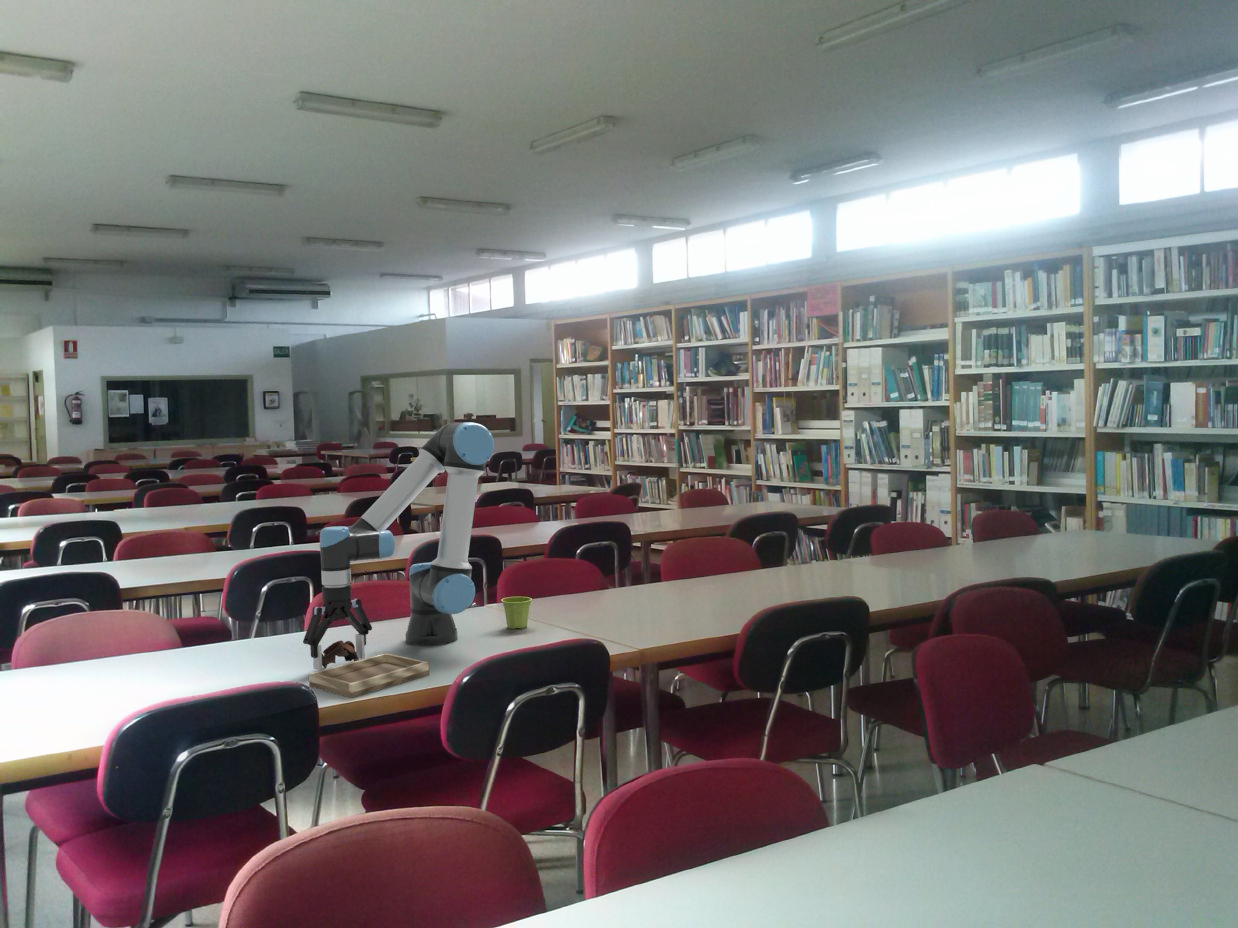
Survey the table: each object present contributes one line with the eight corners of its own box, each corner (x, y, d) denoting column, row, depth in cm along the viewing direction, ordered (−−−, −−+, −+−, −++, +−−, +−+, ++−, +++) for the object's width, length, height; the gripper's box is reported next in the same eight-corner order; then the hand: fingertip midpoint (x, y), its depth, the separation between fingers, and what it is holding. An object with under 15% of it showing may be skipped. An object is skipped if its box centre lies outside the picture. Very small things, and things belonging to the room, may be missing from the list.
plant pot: (516, 622, 312) (515, 595, 311) (538, 625, 306) (538, 598, 306) (495, 628, 304) (495, 600, 304) (518, 631, 299) (517, 603, 298)
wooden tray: (386, 664, 263) (386, 653, 263) (429, 674, 253) (428, 662, 253) (309, 686, 244) (308, 673, 244) (352, 697, 234) (351, 684, 234)
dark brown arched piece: (357, 673, 257) (340, 649, 255) (328, 688, 259) (310, 664, 257) (370, 651, 268) (353, 627, 266) (342, 665, 270) (325, 641, 268)
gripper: (365, 576, 274) (368, 651, 275) (287, 591, 254) (290, 672, 255) (383, 579, 269) (386, 655, 270) (304, 594, 249) (307, 676, 251)
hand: (339, 663), depth 263 cm, fingers open, 13 cm apart
